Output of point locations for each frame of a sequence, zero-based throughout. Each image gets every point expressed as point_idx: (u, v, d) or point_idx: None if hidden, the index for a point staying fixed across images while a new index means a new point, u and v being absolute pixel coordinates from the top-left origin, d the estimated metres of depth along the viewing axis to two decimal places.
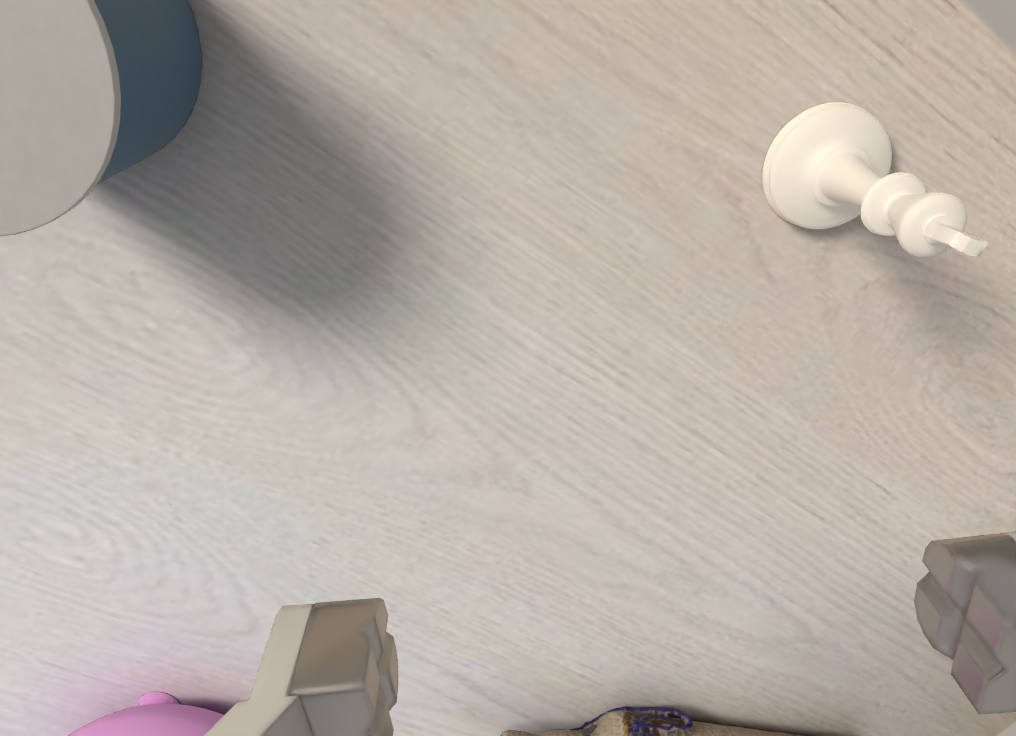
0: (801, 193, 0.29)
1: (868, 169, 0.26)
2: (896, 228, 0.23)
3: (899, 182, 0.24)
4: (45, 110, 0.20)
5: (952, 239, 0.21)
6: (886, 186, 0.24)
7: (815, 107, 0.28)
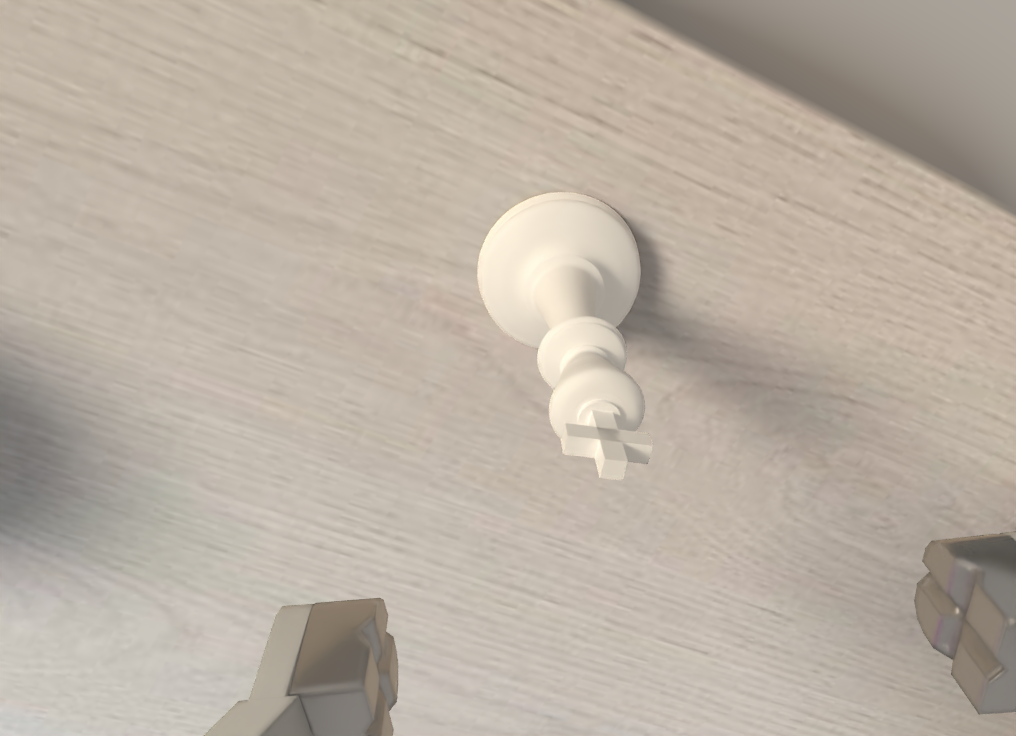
0: (526, 316, 0.22)
1: (571, 294, 0.19)
2: None
3: (573, 333, 0.17)
4: None
5: (596, 451, 0.14)
6: (557, 341, 0.17)
7: (519, 205, 0.21)
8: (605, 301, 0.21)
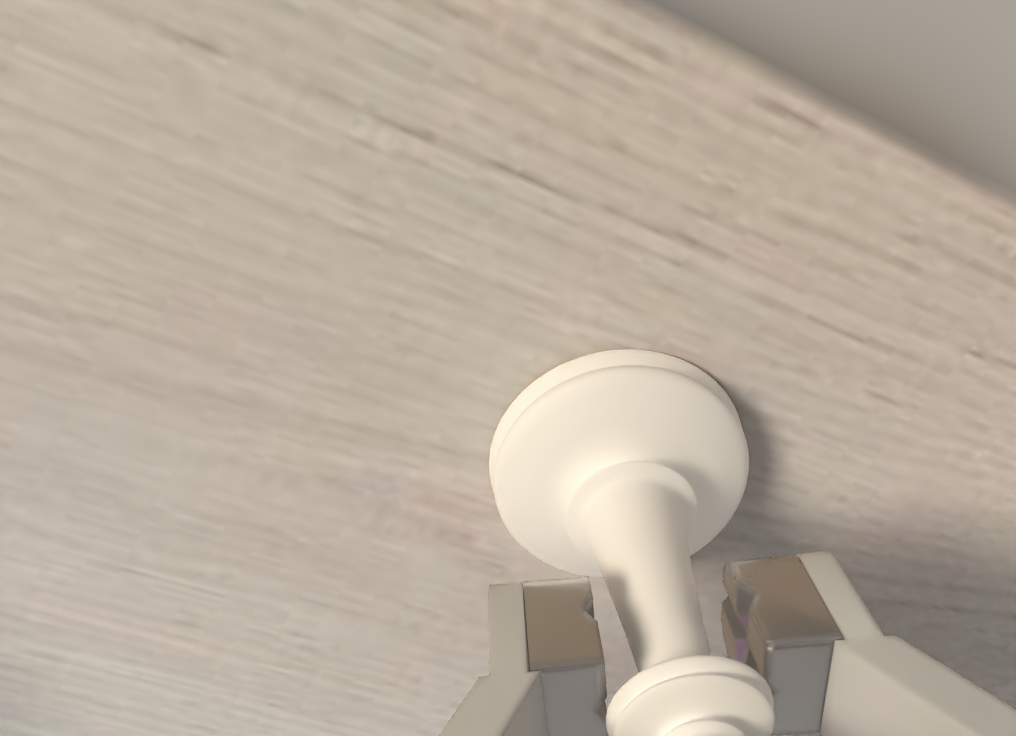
0: (567, 540, 0.14)
1: (654, 554, 0.11)
2: None
3: (680, 695, 0.09)
4: None
5: None
6: (648, 705, 0.09)
7: (556, 370, 0.13)
8: None
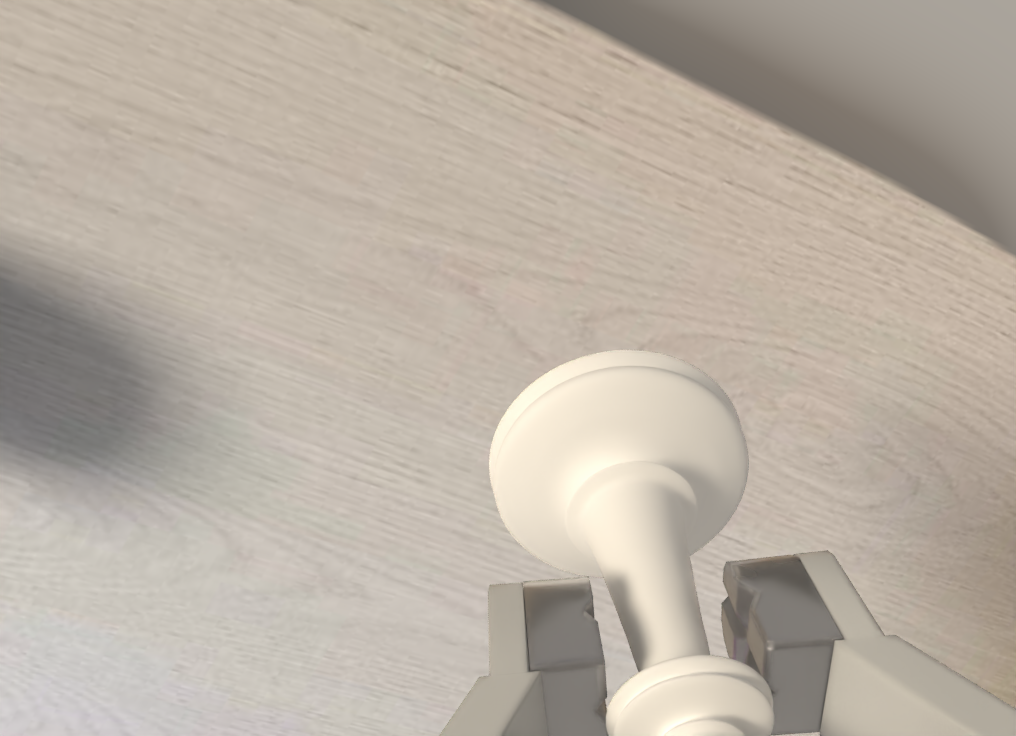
0: (567, 540, 0.14)
1: (654, 554, 0.11)
2: None
3: (679, 694, 0.09)
4: None
5: None
6: (648, 705, 0.09)
7: (556, 371, 0.13)
8: None
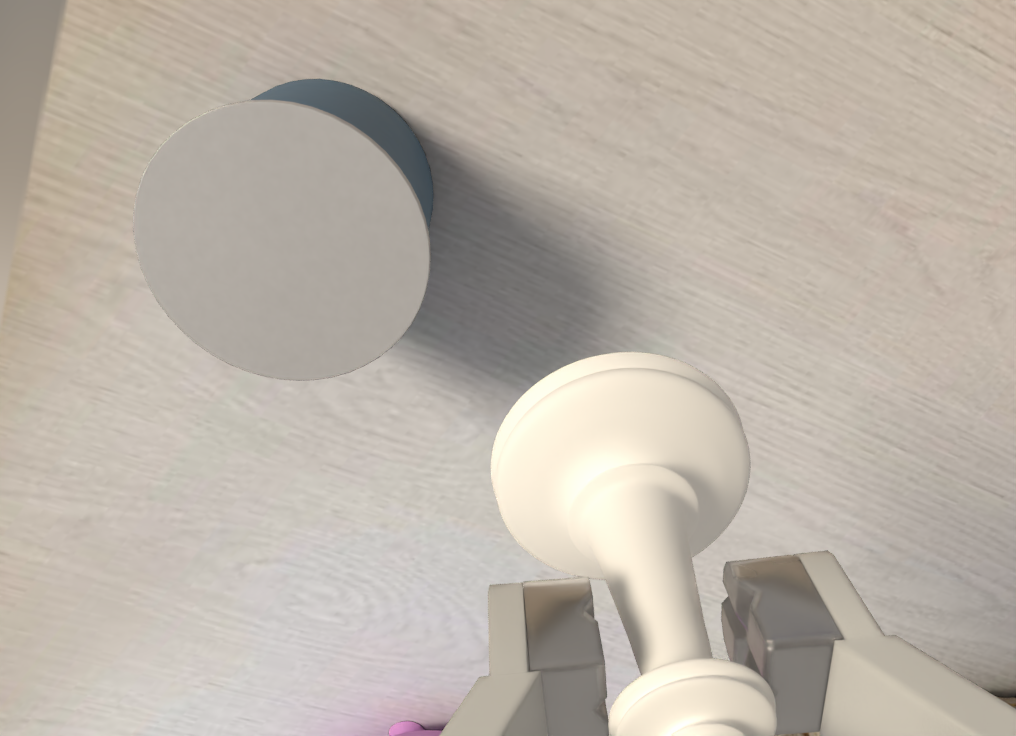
0: (568, 542, 0.14)
1: (656, 557, 0.11)
2: None
3: (682, 698, 0.09)
4: (375, 275, 0.25)
5: None
6: (650, 708, 0.09)
7: (558, 373, 0.13)
8: None
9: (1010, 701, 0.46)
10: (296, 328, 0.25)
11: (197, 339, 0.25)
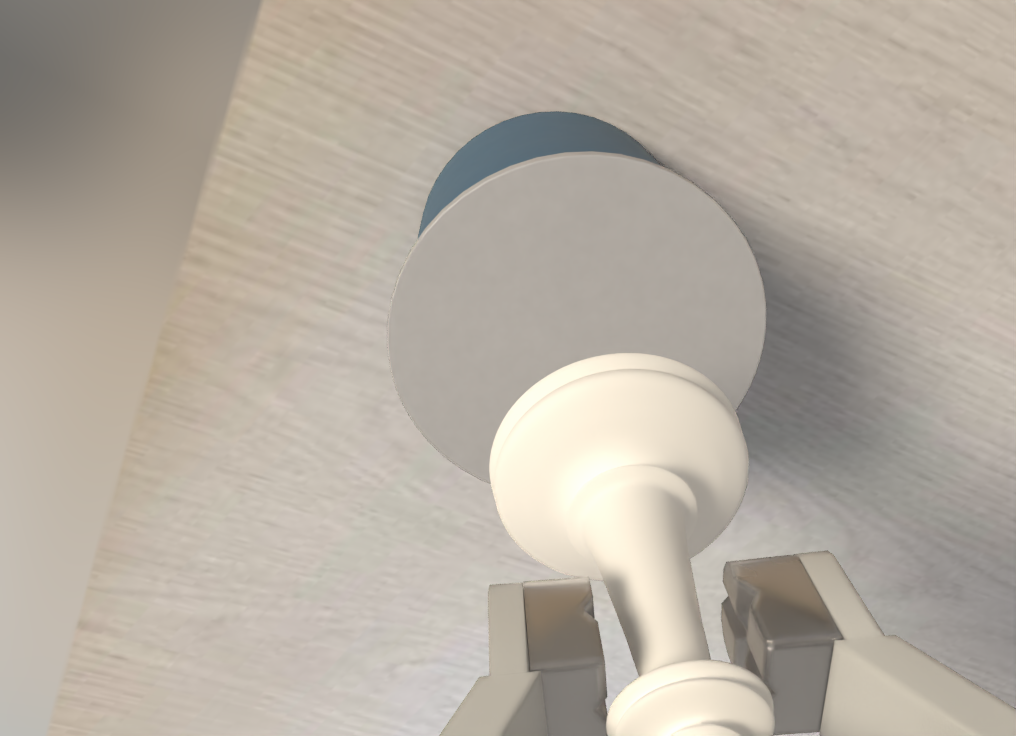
0: (567, 543, 0.14)
1: (654, 558, 0.11)
2: None
3: (680, 699, 0.09)
4: None
5: None
6: (648, 710, 0.09)
7: (556, 374, 0.13)
8: None
9: None
10: None
11: (447, 452, 0.20)
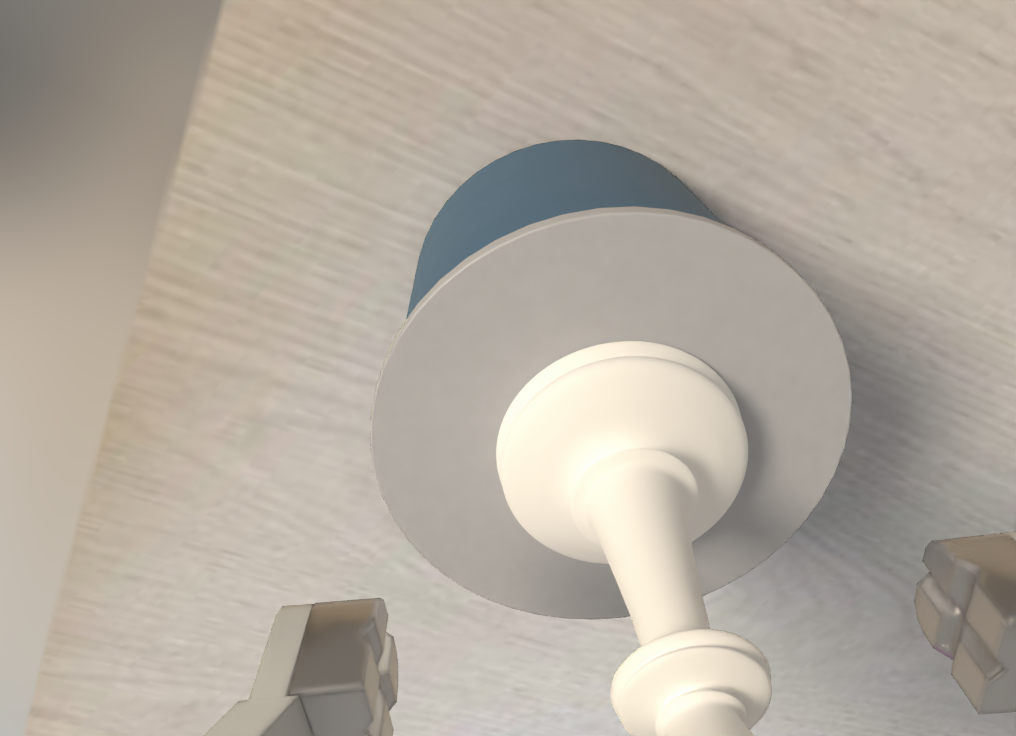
0: (571, 526, 0.14)
1: (656, 537, 0.11)
2: None
3: (681, 666, 0.09)
4: (751, 474, 0.15)
5: None
6: (651, 676, 0.09)
7: (561, 361, 0.13)
8: None
9: None
10: None
11: (447, 569, 0.16)
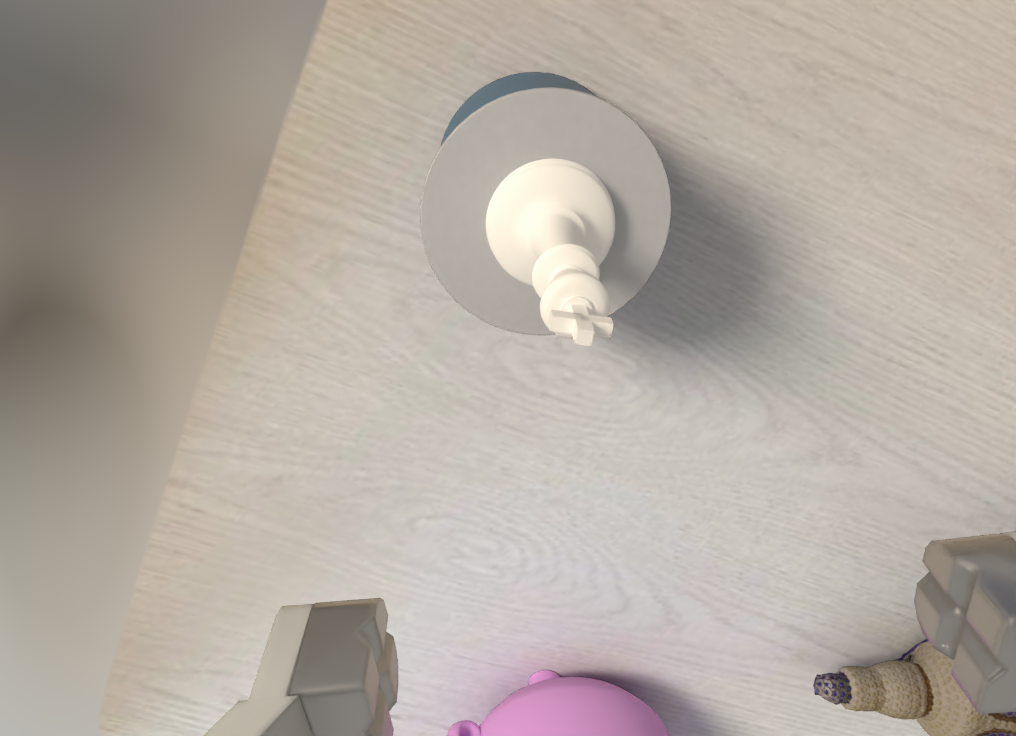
0: (524, 258, 0.27)
1: (558, 234, 0.25)
2: None
3: (558, 256, 0.22)
4: (621, 240, 0.28)
5: (573, 328, 0.20)
6: (546, 262, 0.22)
7: (518, 169, 0.27)
8: (587, 245, 0.27)
9: None
10: None
11: (459, 298, 0.29)
